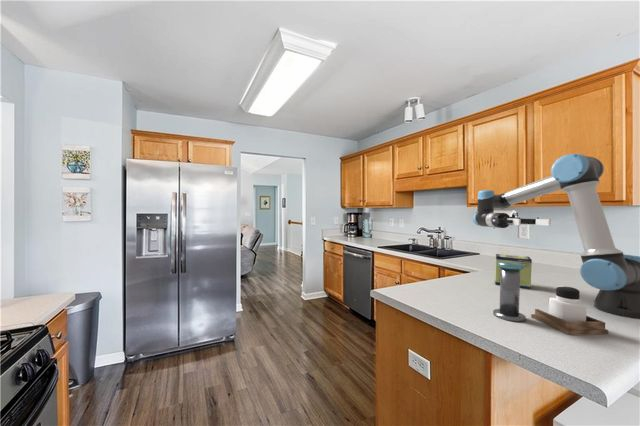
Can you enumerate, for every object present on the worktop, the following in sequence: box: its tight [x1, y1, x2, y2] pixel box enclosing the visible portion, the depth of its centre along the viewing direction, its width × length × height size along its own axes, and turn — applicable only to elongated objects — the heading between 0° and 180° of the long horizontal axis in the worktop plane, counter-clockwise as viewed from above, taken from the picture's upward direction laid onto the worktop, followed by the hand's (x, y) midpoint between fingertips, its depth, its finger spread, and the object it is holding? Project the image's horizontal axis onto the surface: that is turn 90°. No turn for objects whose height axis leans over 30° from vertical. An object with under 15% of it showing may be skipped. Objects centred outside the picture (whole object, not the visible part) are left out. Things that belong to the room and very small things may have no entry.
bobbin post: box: [492, 261, 526, 323], centre depth 101 cm, size 10×10×20 cm
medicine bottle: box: [548, 285, 588, 322], centre depth 95 cm, size 7×7×12 cm
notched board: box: [530, 308, 609, 336], centre depth 95 cm, size 14×14×4 cm
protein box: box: [494, 253, 533, 290], centre depth 146 cm, size 10×16×16 cm
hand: (534, 222), depth 115 cm, fingers open, 13 cm apart
